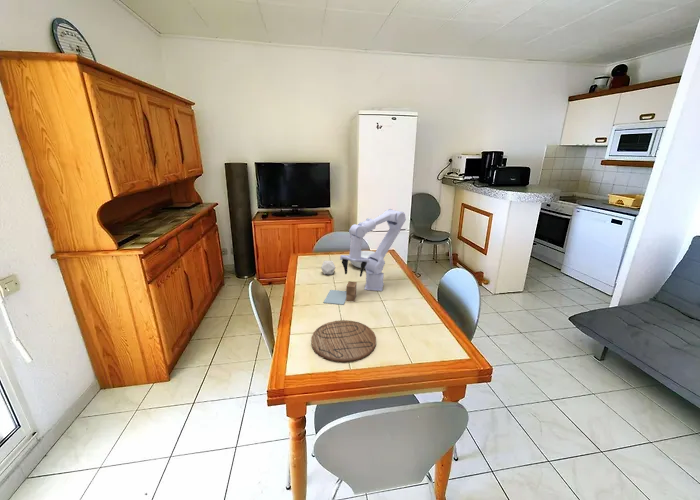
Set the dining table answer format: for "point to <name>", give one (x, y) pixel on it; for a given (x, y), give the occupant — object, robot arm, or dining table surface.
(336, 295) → the mat
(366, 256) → the serving bowl
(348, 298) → the block
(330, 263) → the die
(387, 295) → the dining table surface
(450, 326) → the dining table surface
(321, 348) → the trivet
